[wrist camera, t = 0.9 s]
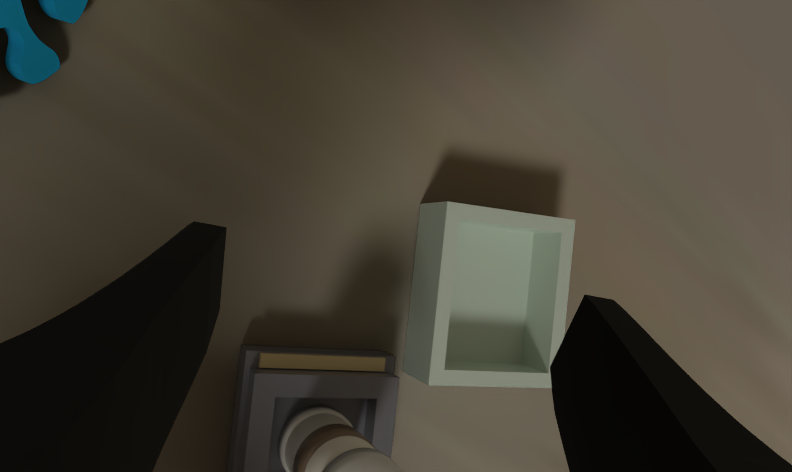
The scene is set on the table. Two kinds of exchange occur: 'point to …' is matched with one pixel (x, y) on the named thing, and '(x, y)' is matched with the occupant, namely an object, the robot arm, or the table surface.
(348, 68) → the table surface
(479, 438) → the table surface
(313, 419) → the cylinder
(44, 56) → the gear
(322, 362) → the grey square holder
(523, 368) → the parts tray
